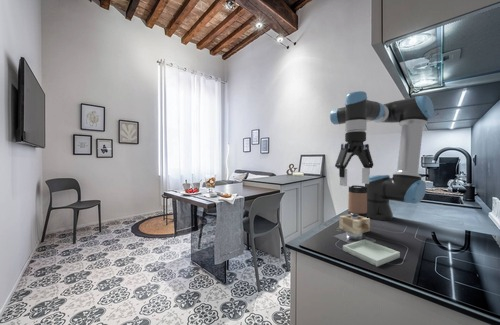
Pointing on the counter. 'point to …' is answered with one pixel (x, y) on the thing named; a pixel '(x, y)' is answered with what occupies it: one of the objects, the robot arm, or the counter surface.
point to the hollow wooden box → (354, 224)
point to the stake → (352, 234)
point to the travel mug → (357, 200)
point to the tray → (371, 252)
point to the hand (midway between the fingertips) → (354, 184)
